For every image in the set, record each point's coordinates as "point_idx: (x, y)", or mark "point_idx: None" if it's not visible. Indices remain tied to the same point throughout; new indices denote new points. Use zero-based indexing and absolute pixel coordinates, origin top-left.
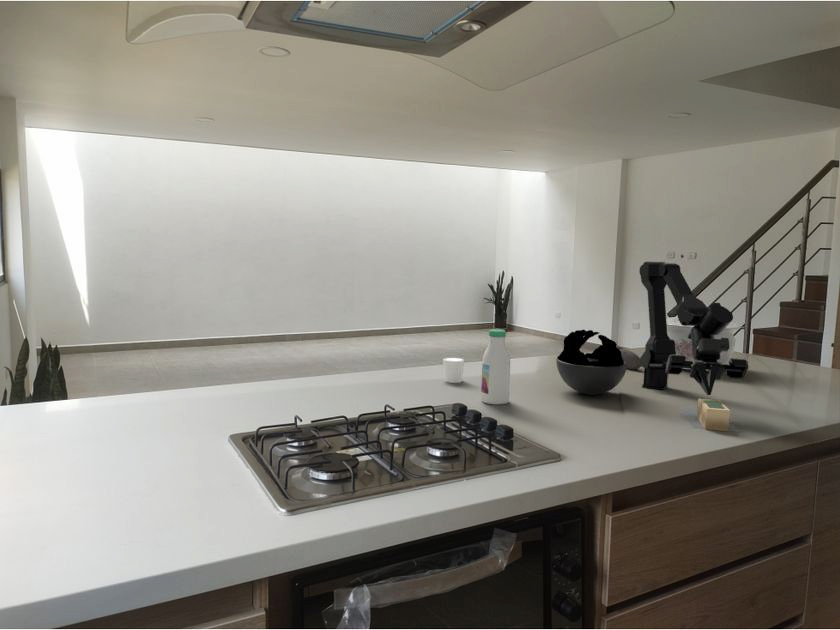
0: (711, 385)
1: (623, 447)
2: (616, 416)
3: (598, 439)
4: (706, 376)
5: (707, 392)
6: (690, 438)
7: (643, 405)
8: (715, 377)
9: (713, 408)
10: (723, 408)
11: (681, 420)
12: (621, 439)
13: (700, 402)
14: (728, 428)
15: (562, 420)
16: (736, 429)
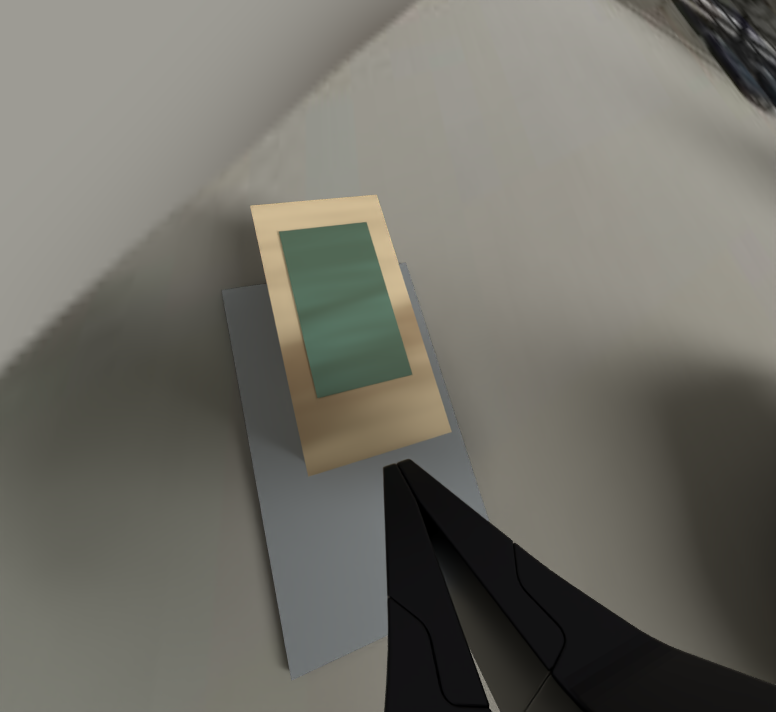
0: (404, 526)
1: (526, 44)
2: (652, 299)
3: (589, 79)
4: (520, 621)
5: (412, 462)
6: (397, 160)
7: (659, 551)
8: (393, 683)
9: (343, 213)
10: (287, 229)
11: (463, 373)
12: (550, 93)
13: (425, 360)
14: (267, 318)
15: (721, 188)
16: (231, 319)
